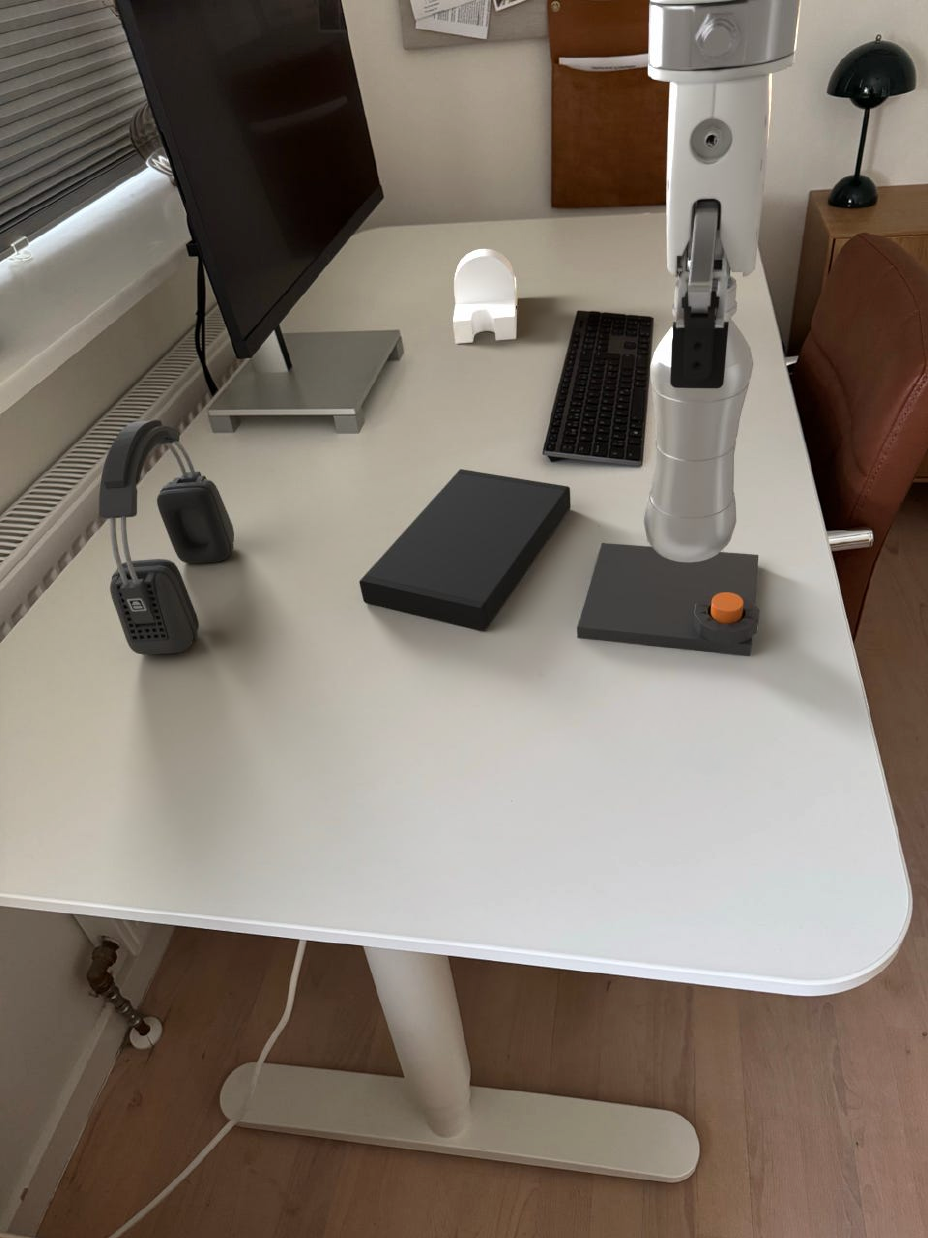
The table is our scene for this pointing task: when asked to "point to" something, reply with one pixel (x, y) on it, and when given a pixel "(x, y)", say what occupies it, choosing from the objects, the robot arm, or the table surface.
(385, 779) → the table surface
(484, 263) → the block with arch cutout
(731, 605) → the button
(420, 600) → the external hard drive
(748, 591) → the scale
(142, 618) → the headphones
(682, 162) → the robot arm
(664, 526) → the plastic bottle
